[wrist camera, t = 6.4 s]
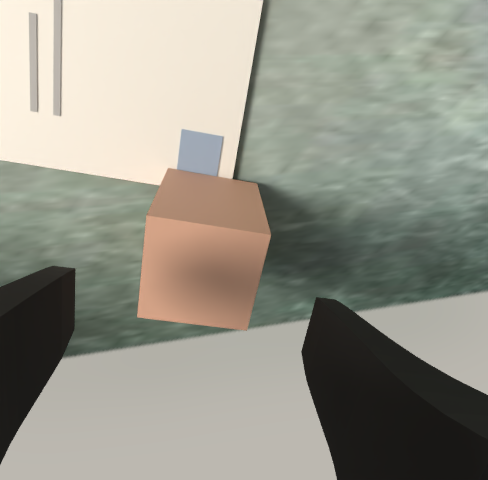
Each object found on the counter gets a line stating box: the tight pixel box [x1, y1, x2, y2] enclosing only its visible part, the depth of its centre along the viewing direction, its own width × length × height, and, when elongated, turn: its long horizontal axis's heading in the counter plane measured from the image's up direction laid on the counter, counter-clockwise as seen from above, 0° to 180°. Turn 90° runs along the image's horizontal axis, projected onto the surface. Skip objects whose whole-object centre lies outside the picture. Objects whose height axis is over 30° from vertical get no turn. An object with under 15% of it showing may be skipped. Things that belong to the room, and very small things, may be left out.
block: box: [137, 168, 271, 331], centre depth 17 cm, size 4×4×6 cm
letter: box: [0, 0, 263, 185], centre depth 17 cm, size 12×9×1 cm
